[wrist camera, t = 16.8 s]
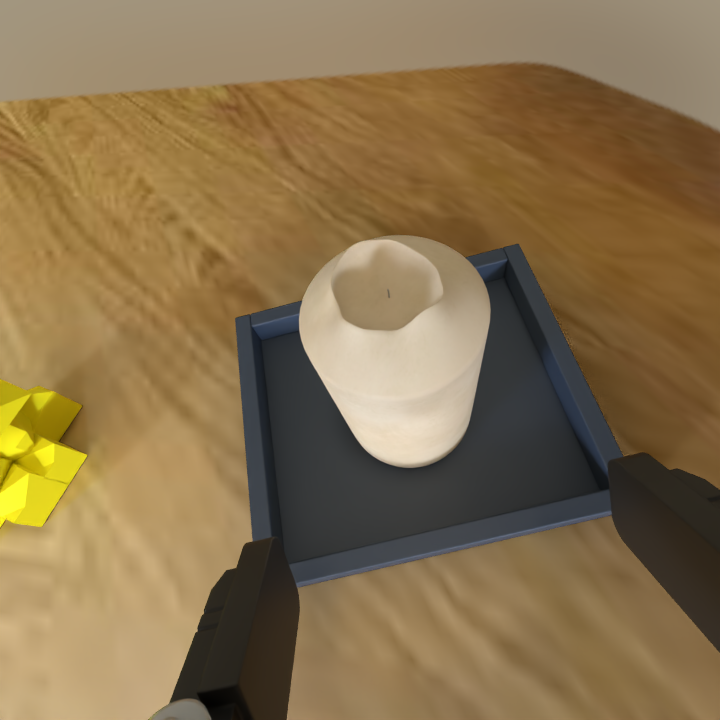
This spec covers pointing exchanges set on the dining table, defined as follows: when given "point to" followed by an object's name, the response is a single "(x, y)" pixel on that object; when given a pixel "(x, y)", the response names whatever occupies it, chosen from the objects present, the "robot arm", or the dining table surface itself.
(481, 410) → the tray
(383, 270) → the candle
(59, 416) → the crumpled paper
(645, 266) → the dining table surface
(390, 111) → the dining table surface
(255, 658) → the robot arm
